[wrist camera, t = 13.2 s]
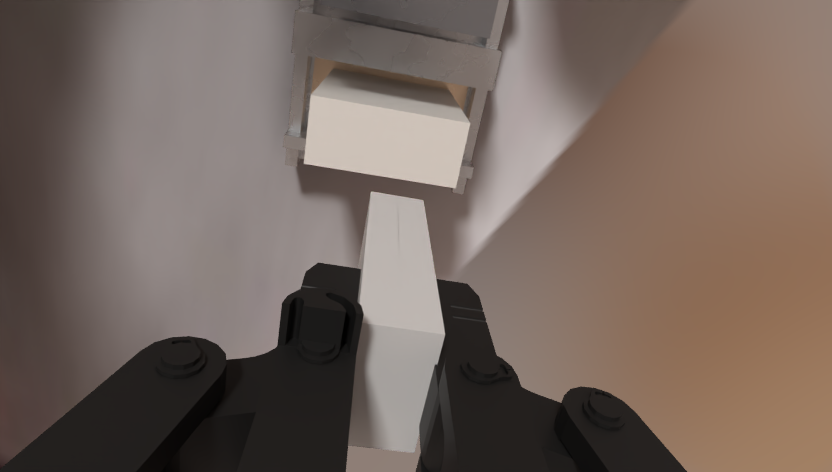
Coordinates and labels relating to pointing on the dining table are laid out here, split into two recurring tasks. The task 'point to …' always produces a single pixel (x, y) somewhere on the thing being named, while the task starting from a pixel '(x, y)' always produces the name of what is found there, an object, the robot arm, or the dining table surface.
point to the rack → (398, 54)
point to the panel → (386, 128)
